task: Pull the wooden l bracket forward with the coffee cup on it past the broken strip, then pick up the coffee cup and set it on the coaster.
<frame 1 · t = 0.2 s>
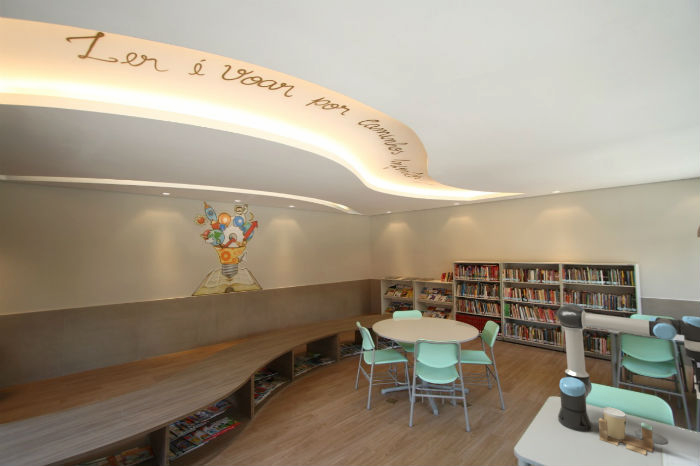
coaster: (650, 436, 156), on the table
wooden l bracket: (626, 429, 154), point 5 cm above the table, slide at 0.1 cm, touching coffee cup
coffee cup: (614, 435, 157), point 1 cm above the table, touching wooden l bracket
broken strip: (624, 446, 149), on the table
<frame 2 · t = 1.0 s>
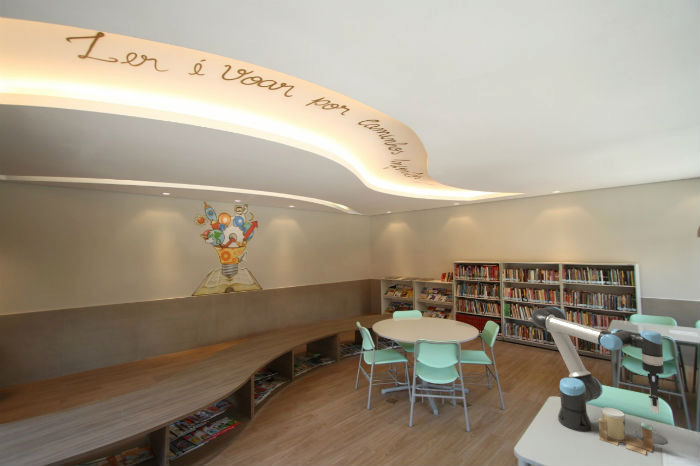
hand: (654, 406, 149), 20 cm above the table, fingers open, 13 cm apart
nothing on the table moved.
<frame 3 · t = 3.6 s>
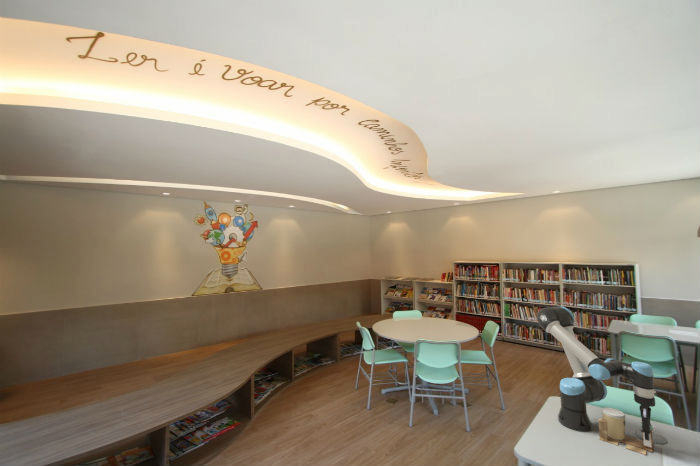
hand: (647, 444, 148), 2 cm above the table, fingers closed on wooden l bracket, 3 cm apart
wooden l bracket: (626, 429, 154), point 5 cm above the table, slide at 0.1 cm, touching coffee cup, gripper
everything else where it was.
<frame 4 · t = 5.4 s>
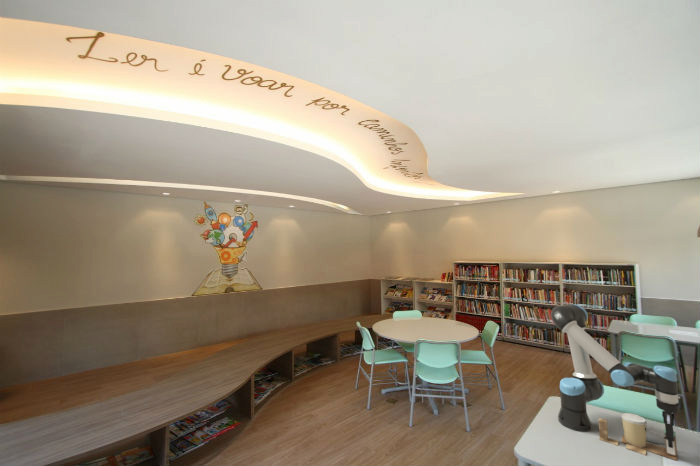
hand: (671, 451, 143), 2 cm above the table, fingers closed on wooden l bracket, 3 cm apart
wooden l bracket: (647, 436, 148), point 5 cm above the table, slide at 8.0 cm, touching coffee cup, gripper
coffee cup: (635, 442, 152), resting on wooden l bracket
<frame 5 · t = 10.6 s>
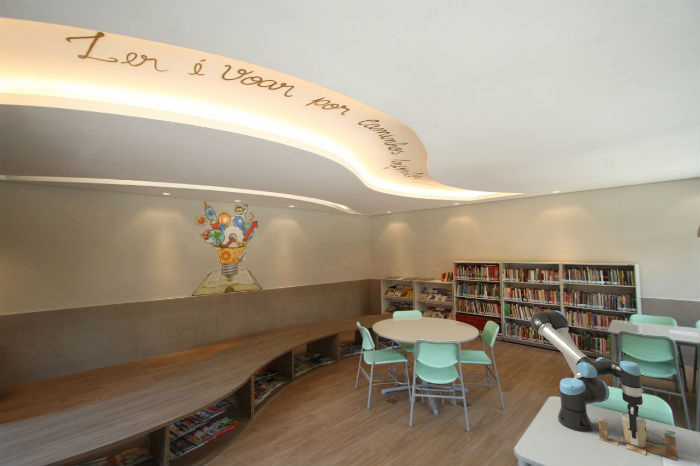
hand: (635, 440, 152), 2 cm above the table, fingers closed on coffee cup, 9 cm apart
wooden l bracket: (647, 436, 148), point 5 cm above the table, slide at 7.9 cm, touching coffee cup
coffee cup: (635, 442, 152), resting on wooden l bracket, touching gripper
when the fingers open (3 cm above the table, at t = 15.9 s): coffee cup drops 1 cm, resting on coaster.
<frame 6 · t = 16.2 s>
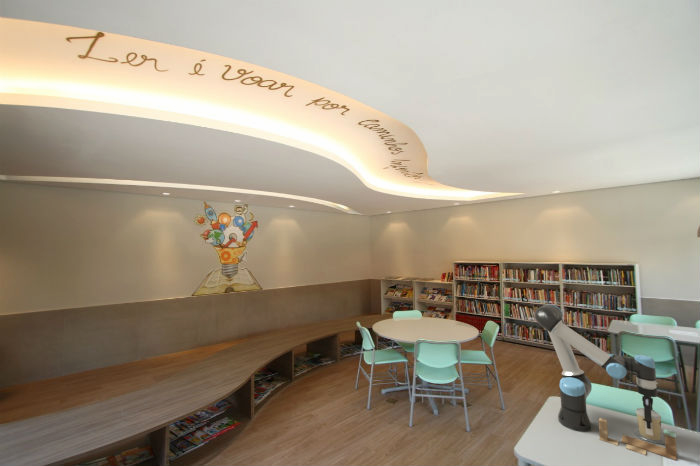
hand: (649, 429, 157), 4 cm above the table, fingers open, 11 cm apart
wooden l bracket: (647, 436, 148), point 5 cm above the table, slide at 7.9 cm
coffee cup: (650, 436, 156), resting on coaster
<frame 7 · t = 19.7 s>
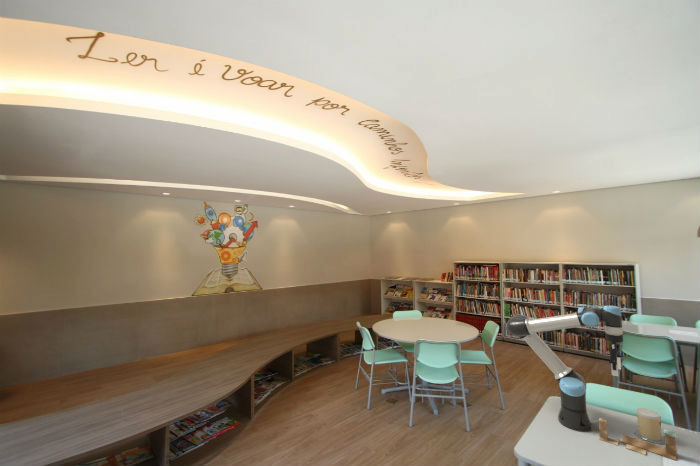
hand: (616, 372, 169), 29 cm above the table, fingers open, 13 cm apart
nothing on the table moved.
at the end: wooden l bracket slide at 7.9 cm; coffee cup 0.4 cm from the coaster (horizontally); coffee cup tilted 0° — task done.
